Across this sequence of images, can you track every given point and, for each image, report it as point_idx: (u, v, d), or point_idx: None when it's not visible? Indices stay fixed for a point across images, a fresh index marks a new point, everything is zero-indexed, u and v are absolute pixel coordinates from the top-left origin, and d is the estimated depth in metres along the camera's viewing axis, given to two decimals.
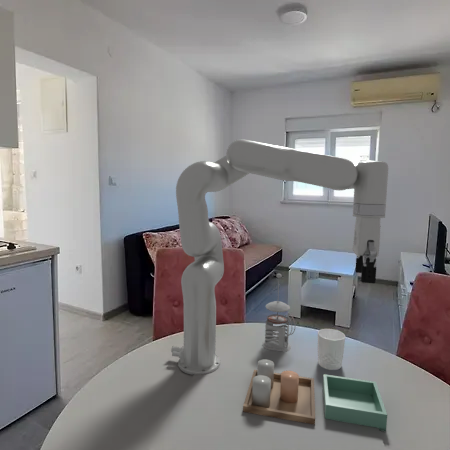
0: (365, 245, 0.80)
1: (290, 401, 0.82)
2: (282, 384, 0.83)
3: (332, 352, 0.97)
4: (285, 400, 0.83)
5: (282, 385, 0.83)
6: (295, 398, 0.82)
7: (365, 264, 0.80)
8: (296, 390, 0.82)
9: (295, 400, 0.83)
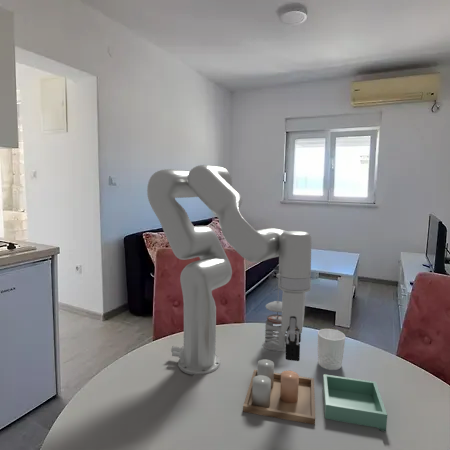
0: (288, 321, 0.77)
1: (290, 401, 0.82)
2: (282, 384, 0.83)
3: (332, 352, 0.97)
4: (285, 400, 0.83)
5: (282, 385, 0.83)
6: (295, 398, 0.82)
7: (287, 342, 0.77)
8: (296, 390, 0.82)
9: (295, 400, 0.83)
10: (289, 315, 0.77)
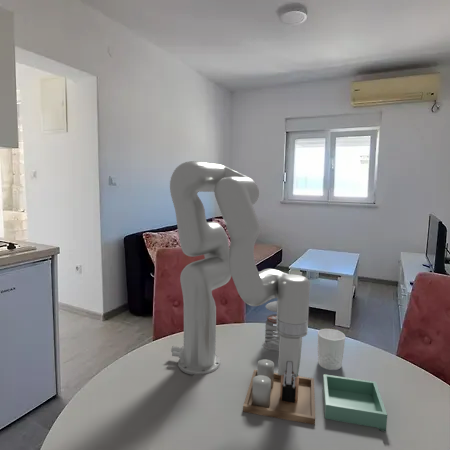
0: (284, 366, 0.79)
1: None
2: (282, 384, 0.83)
3: (332, 352, 0.97)
4: None
5: None
6: (295, 398, 0.82)
7: (284, 386, 0.80)
8: (296, 390, 0.82)
9: (295, 400, 0.83)
10: (286, 360, 0.78)
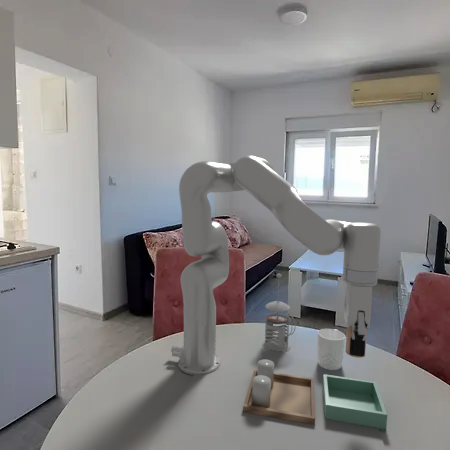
0: (355, 316, 0.74)
1: None
2: (349, 338, 0.79)
3: (332, 352, 0.97)
4: None
5: (349, 338, 0.79)
6: None
7: (353, 338, 0.76)
8: None
9: None
10: (357, 309, 0.74)
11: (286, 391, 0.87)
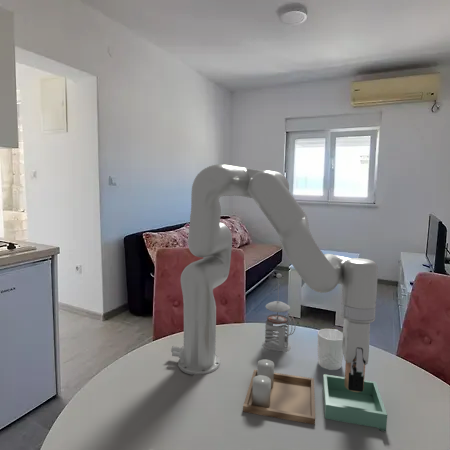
0: (353, 352, 0.75)
1: None
2: (348, 372, 0.80)
3: (332, 352, 0.97)
4: None
5: (348, 373, 0.80)
6: None
7: (352, 374, 0.77)
8: None
9: None
10: (355, 346, 0.75)
11: (286, 391, 0.87)
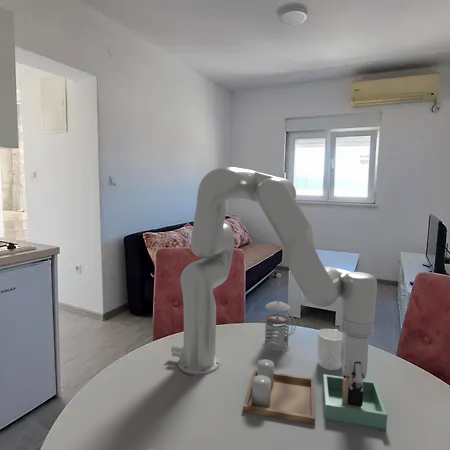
0: (352, 366, 0.76)
1: None
2: (345, 391, 0.80)
3: (332, 352, 0.97)
4: None
5: (345, 392, 0.81)
6: (359, 406, 0.80)
7: (351, 388, 0.76)
8: None
9: None
10: (354, 360, 0.76)
11: (286, 391, 0.87)
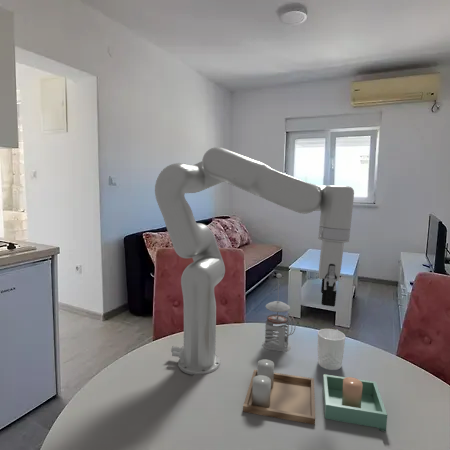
0: (326, 269, 0.82)
1: None
2: (345, 391, 0.80)
3: (332, 352, 0.97)
4: None
5: (345, 392, 0.81)
6: (359, 406, 0.80)
7: (325, 287, 0.81)
8: (360, 397, 0.80)
9: None
10: (328, 263, 0.81)
11: (286, 391, 0.87)
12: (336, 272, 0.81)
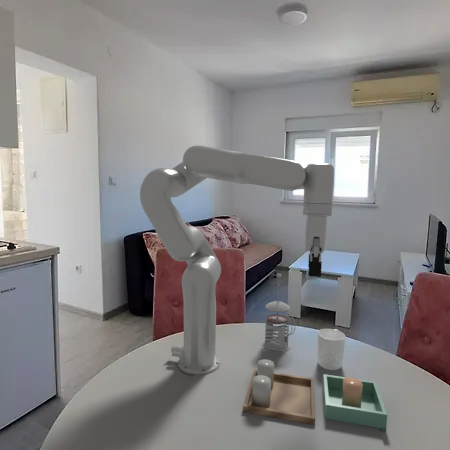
0: (311, 241, 0.87)
1: None
2: (345, 391, 0.80)
3: (332, 352, 0.97)
4: None
5: (345, 392, 0.81)
6: (359, 406, 0.80)
7: (311, 259, 0.86)
8: (360, 397, 0.80)
9: None
10: (313, 235, 0.86)
11: (286, 391, 0.87)
12: (320, 244, 0.86)
